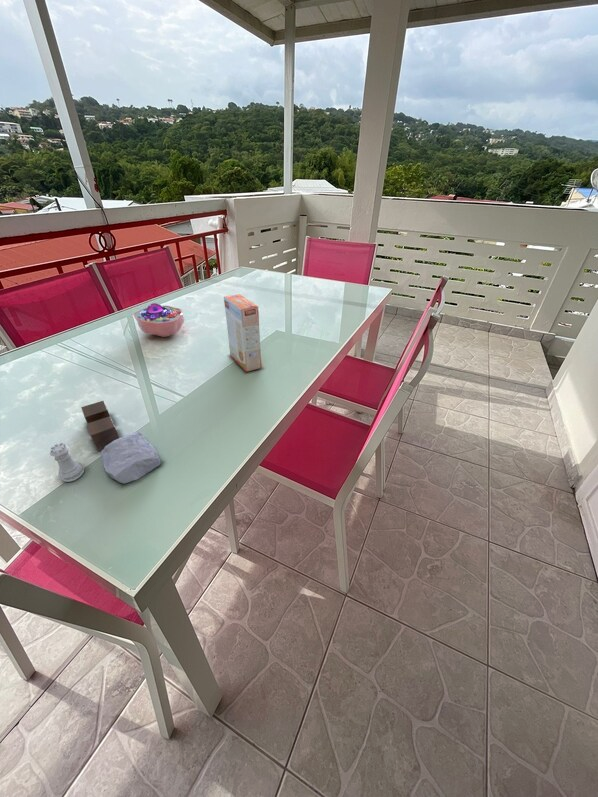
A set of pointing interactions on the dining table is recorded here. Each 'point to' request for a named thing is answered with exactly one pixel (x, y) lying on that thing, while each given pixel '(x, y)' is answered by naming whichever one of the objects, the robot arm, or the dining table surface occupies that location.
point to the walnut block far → (95, 411)
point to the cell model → (160, 320)
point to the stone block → (129, 458)
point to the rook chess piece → (66, 463)
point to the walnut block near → (102, 432)
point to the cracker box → (243, 331)
